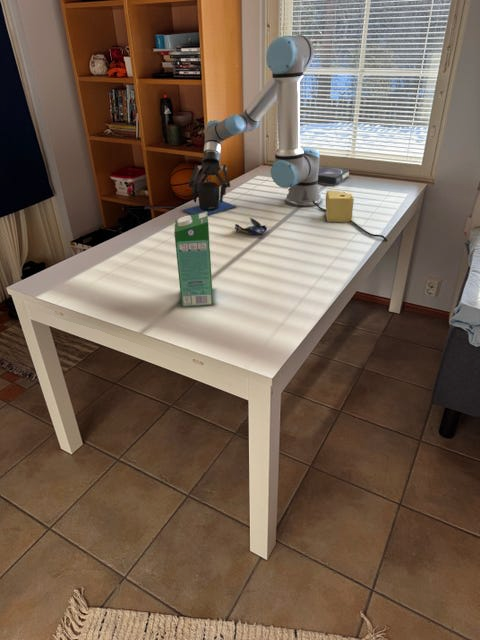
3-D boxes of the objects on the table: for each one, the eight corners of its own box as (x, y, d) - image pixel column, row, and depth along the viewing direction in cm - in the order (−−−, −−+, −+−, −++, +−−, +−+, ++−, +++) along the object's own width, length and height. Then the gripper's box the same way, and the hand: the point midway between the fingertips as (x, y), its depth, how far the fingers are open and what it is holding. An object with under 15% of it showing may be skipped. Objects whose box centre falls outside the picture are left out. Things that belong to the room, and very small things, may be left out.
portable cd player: (336, 185, 232) (336, 177, 230) (304, 181, 240) (305, 173, 238) (348, 177, 243) (349, 169, 241) (318, 173, 251) (319, 166, 249)
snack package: (249, 225, 189) (229, 233, 182) (251, 210, 185) (231, 217, 178) (272, 237, 183) (252, 245, 176) (274, 222, 179) (254, 230, 172)
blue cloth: (235, 207, 208) (235, 206, 207) (198, 218, 197) (198, 216, 197) (219, 201, 216) (219, 199, 215) (183, 210, 205) (183, 209, 205)
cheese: (349, 213, 197) (351, 190, 192) (352, 222, 188) (354, 198, 183) (324, 213, 198) (326, 190, 193) (325, 222, 189) (327, 198, 184)
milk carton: (182, 291, 142) (174, 212, 129) (212, 290, 143) (207, 210, 130) (181, 306, 135) (173, 223, 121) (213, 304, 135) (208, 222, 122)
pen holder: (195, 210, 204) (193, 187, 199) (204, 203, 211) (202, 181, 206) (215, 212, 201) (214, 189, 196) (223, 205, 209) (222, 182, 203)
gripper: (239, 160, 209) (235, 205, 204) (187, 159, 211) (183, 204, 207) (237, 150, 202) (233, 197, 197) (184, 150, 204) (179, 196, 199)
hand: (207, 201), depth 202 cm, fingers open, 11 cm apart
